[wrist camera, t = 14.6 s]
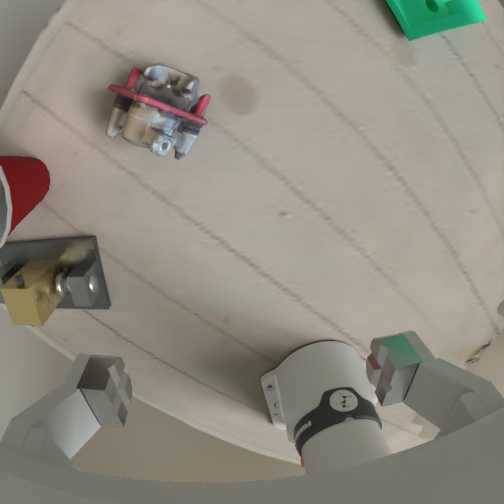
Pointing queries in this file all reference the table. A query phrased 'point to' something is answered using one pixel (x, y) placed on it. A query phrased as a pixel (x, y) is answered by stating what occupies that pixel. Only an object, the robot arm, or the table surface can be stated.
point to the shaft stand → (62, 269)
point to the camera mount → (434, 15)
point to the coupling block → (32, 292)
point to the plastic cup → (20, 190)
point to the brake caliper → (158, 110)
